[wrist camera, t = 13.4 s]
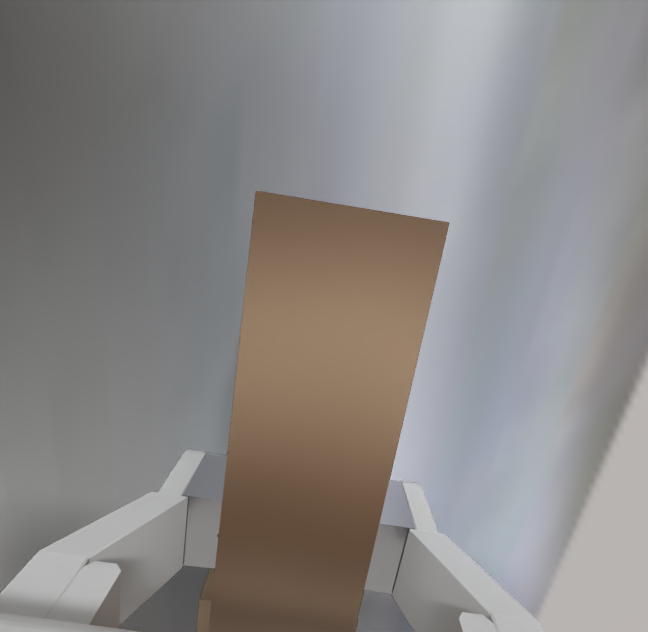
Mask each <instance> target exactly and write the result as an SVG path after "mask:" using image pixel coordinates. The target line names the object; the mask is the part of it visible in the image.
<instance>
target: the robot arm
mask: <svg viewBox="0 0 648 632" xmlns="http://www.w3.org/2000/svg"><path fill="white" fill-rule="evenodd" d="M226 462H227V455H222V454H217V453H211V452H204V451H198V450H191V449H188V450H186V451H185V452H184V453H183V455H182V456H181V458H180V459H179V461H178V462H177V464H176V465H175V467H174V468H173V470H172V471H171V473H170V474H169V476H168V477H167V479H166V480H165V482H164V483H163V485H162V487H161V488H160V490H159V491H158V492H150V493H148V494H146V495H144V496H142V497H140V498H138V499H137V500H135V501H133V502H131V503H129V504H127V505H125V506H123V507H121V508H119V509H117V510H116V511H114V512H112V513H110V514H108V515H106V516H104V517H102V518H100V519H98V520H96V521H95V522H93V523H91V524H89V525H87V526H85V527H83V528H81V529H79V530H77V531H76V532H74V533H72V534H70V535H68V536H66V537H64V538H62V539H60V540H58V541H56V542H55V543H53V544H51V545H49V546H47V547H45V548H43V549H41V550H39V551H38V552H37V553H36V555H35V556H34V557H33V558H32V559H31V560H30V561H29V562H28V563H27V564H26V565H25V567H24V568H23V569H22V570H21V571H20V572H19V573H18V574H17V575H16V576H15V578H14V579H13V580H12V581H11V582H10V583H9V584H8V585H7V586H6V587H5V589H4V590H3V591H2V592H1V593H0V632H141V631H134V630H126V629H119V626H120V625H121V624H122V623H123V622H124V621H125V620H126V619H127V618H128V617H129V616H130V615H132V614H133V613H134V612H135V611H136V610H137V609H138V608H139V607H140V606H141V605H142V604H143V603H145V602H146V601H147V600H148V599H149V598H150V597H151V596H152V595H153V594H154V593H155V592H156V591H158V590H159V589H160V588H161V587H162V586H163V585H164V584H165V583H166V582H167V581H168V580H169V579H171V578H172V577H173V576H174V575H175V574H176V573H177V572H178V571H179V570H180V569H181V568H182V566H183V565H186V566H196V567H205V568H214V569H215V563H216V554H217V544H218V535H219V526H220V517H221V508H222V498H223V489H224V480H225V471H226ZM364 590H369V591H375V592H381V593H387V594H392V597H393V599H394V600H395V602H396V604H397V605H398V607H399V608H400V610H401V612H402V613H403V615H404V616H405V618H406V619H407V621H408V623H409V624H410V626H411V627H412V629H413V631H414V632H544V631H543V629H542V627H541V625H540V623H539V621H538V620H537V619H536V618H535V617H533V616H532V615H531V614H530V613H529V612H528V611H527V610H526V609H525V608H524V607H523V606H522V605H521V604H520V603H518V602H517V601H516V600H515V599H514V598H513V597H512V596H511V595H510V594H509V593H508V592H507V591H506V590H504V589H503V588H502V587H501V586H500V585H499V584H498V583H497V582H496V581H495V580H494V579H493V578H492V577H491V576H489V575H488V574H487V573H486V572H485V571H484V570H483V569H482V568H481V567H480V566H479V565H478V564H477V563H475V562H474V561H473V560H472V559H471V558H470V557H469V556H468V555H467V554H466V553H465V552H464V551H463V550H461V549H460V548H459V547H458V546H457V545H456V544H455V543H454V542H453V541H452V540H451V539H450V538H449V537H448V536H446V535H445V534H442V533H439V532H438V529H437V527H436V524H435V521H434V518H433V516H432V513H431V510H430V508H429V505H428V502H427V500H426V497H425V494H424V492H423V489H422V486H421V485H420V484H419V483H416V482H407V481H394V480H389V484H388V489H387V493H386V497H385V502H384V506H383V510H382V515H381V519H380V523H379V527H378V532H377V536H376V540H375V545H374V549H373V553H372V558H371V562H370V566H369V570H368V575H367V579H366V583H365V588H364Z"/></svg>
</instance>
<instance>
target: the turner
mask: <svg viewBox="0 0 648 632" xmlns="http://www.w3.org/2000/svg"><path fill="white" fill-rule="evenodd" d="M448 227H449V223H448V222H442V221H436V220H430V219H424V218H418V217H412V216H406V215H400V214H394V213H388V212H382V211H376V210H370V209H364V208H358V207H352V206H345V205H339V204H333V203H327V202H321V201H315V200H309V199H303V198H297V197H291V196H285V195H279V194H273V193H267V192H261V191H256V194H255V203H254V213H253V222H252V231H251V240H250V250H249V259H248V268H247V277H246V286H245V296H244V305H243V314H242V323H241V332H240V342H239V351H238V360H237V369H236V379H235V388H234V397H233V406H232V415H231V425H230V434H229V443H228V452H227V462H226V471H225V480H224V489H223V498H222V508H221V517H220V526H219V535H218V544H217V554H216V563H215V570H209V573H208V575H207V578H206V581H205V584H204V587H203V590H202V593H201V595H200V598H199V606H198V616H197V626H196V632H356V627H357V623H358V613H359V609H360V605H361V601H362V596H363V592H364V588H365V583H366V579H367V575H368V570H369V566H370V562H371V558H372V553H373V549H374V545H375V540H376V536H377V532H378V527H379V523H380V519H381V515H382V510H383V506H384V502H385V497H386V493H387V489H388V484H389V480H390V476H391V472H392V467H393V463H394V459H395V454H396V450H397V446H398V441H399V437H400V433H401V429H402V424H403V420H404V416H405V411H406V407H407V403H408V398H409V394H410V390H411V386H412V381H413V377H414V373H415V368H416V364H417V360H418V355H419V351H420V347H421V343H422V338H423V334H424V330H425V325H426V321H427V317H428V312H429V308H430V304H431V300H432V295H433V291H434V287H435V282H436V278H437V274H438V269H439V265H440V261H441V257H442V252H443V248H444V244H445V239H446V235H447V231H448Z"/></svg>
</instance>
